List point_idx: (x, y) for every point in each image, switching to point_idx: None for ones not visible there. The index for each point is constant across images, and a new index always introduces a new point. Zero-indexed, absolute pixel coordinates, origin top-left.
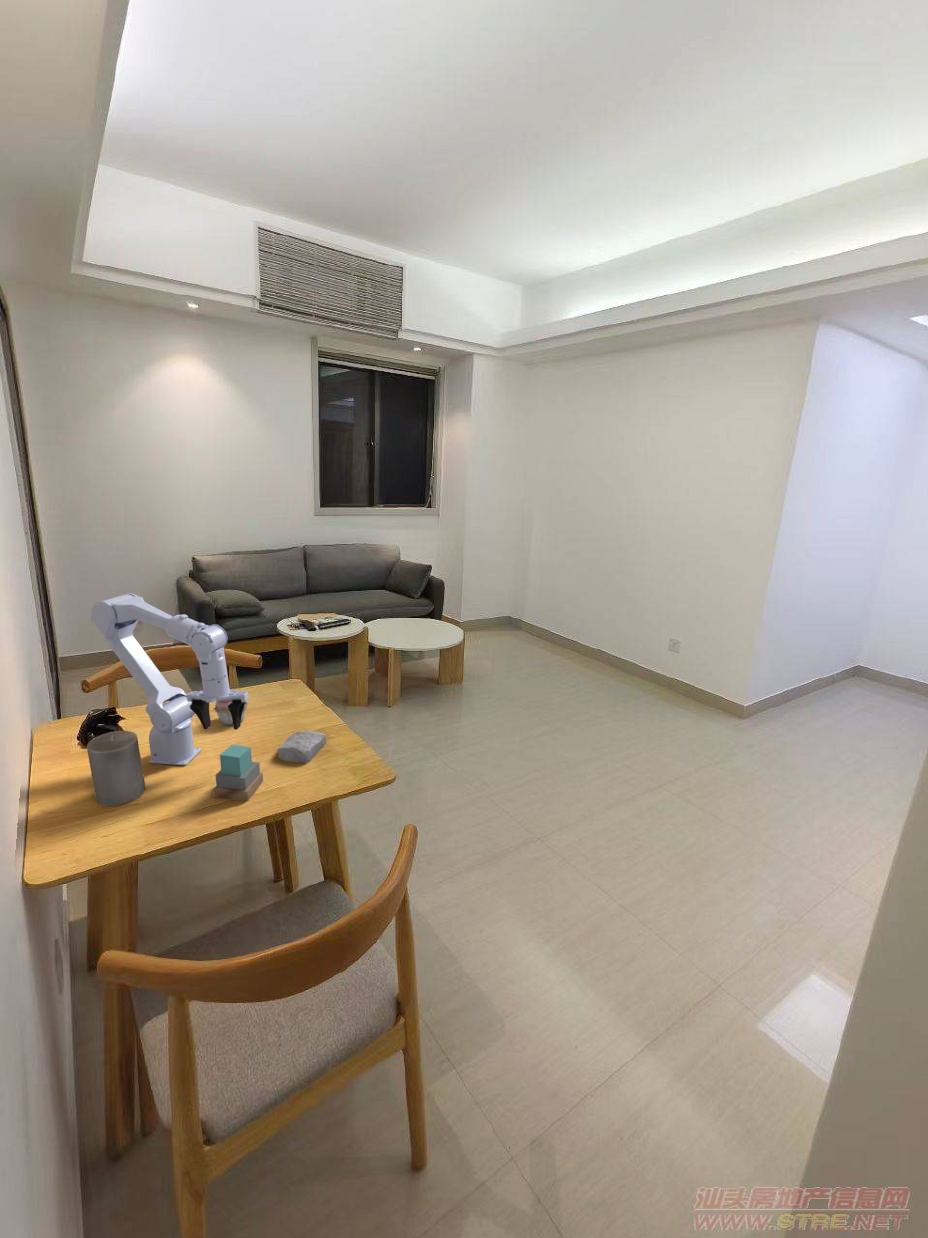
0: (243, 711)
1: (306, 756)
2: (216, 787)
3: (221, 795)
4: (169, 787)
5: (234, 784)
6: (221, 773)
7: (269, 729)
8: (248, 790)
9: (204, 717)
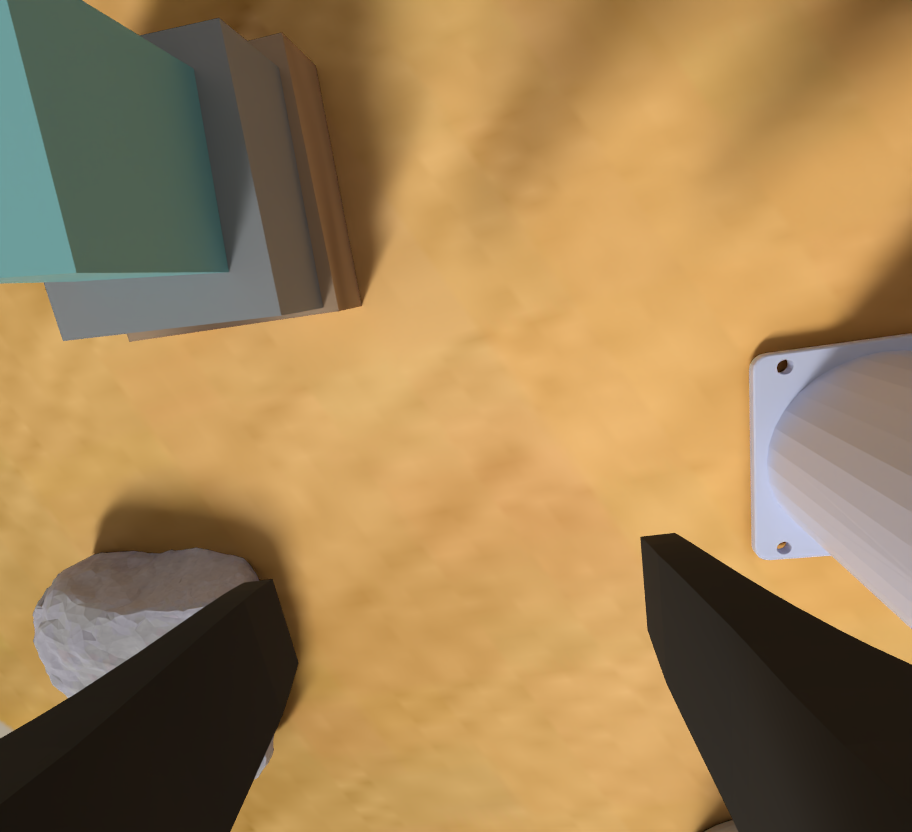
0: None
1: (59, 574)
2: (272, 58)
3: None
4: (701, 71)
5: None
6: (193, 69)
7: (485, 805)
8: None
9: (733, 682)
